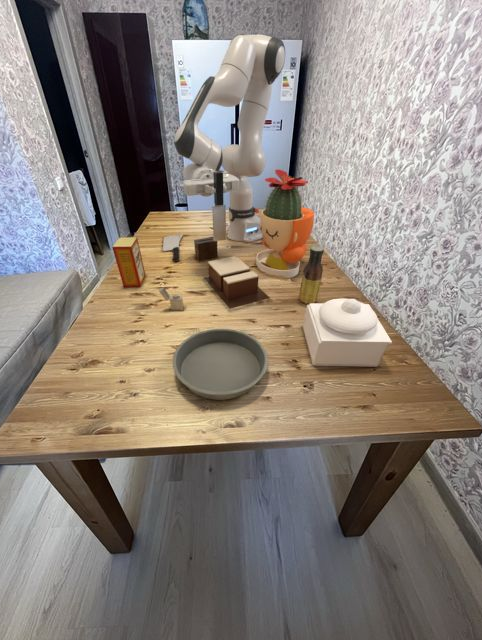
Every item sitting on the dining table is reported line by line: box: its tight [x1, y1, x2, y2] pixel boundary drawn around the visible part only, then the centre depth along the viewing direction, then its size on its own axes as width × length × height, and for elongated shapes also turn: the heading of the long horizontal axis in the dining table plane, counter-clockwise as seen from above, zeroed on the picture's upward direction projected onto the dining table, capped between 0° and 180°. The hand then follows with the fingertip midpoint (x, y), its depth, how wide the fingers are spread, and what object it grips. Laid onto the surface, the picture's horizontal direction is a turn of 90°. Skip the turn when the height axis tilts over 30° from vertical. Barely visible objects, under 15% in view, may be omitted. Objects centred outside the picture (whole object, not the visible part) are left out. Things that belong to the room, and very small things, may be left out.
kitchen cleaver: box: [162, 234, 184, 263], centre depth 137 cm, size 31×2×10 cm
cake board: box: [203, 275, 271, 310], centre depth 108 cm, size 25×16×1 cm, turn 25°
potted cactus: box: [255, 168, 315, 279], centre depth 111 cm, size 22×22×35 cm
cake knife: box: [211, 171, 227, 242], centre depth 100 cm, size 3×5×22 cm, turn 115°
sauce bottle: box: [298, 245, 325, 305], centre depth 94 cm, size 6×6×20 cm
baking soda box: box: [111, 236, 147, 288], centre depth 108 cm, size 10×6×16 cm
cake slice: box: [223, 270, 260, 299], centre depth 102 cm, size 4×12×7 cm, turn 115°
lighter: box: [158, 287, 185, 311], centre depth 96 cm, size 7×2×8 cm, turn 91°
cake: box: [207, 256, 251, 291], centre depth 109 cm, size 12×12×7 cm
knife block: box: [193, 236, 219, 263], centre depth 127 cm, size 9×5×8 cm, turn 115°
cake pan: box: [172, 328, 269, 401], centre depth 75 cm, size 25×25×4 cm
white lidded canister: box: [302, 297, 393, 368], centre depth 78 cm, size 18×18×16 cm
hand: (219, 190), depth 96 cm, fingers closed on cake knife, 2 cm apart
